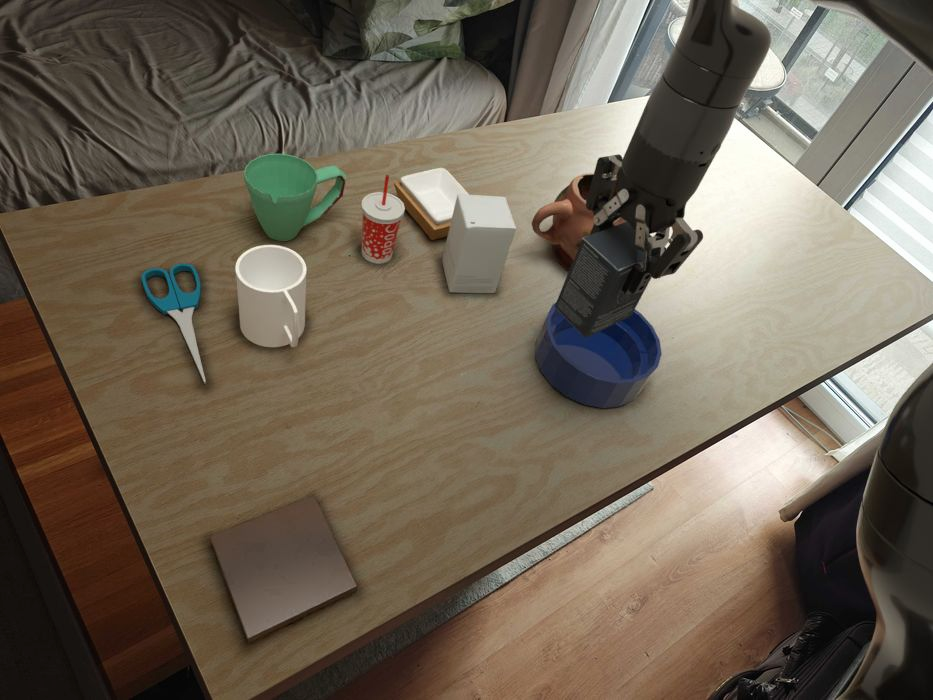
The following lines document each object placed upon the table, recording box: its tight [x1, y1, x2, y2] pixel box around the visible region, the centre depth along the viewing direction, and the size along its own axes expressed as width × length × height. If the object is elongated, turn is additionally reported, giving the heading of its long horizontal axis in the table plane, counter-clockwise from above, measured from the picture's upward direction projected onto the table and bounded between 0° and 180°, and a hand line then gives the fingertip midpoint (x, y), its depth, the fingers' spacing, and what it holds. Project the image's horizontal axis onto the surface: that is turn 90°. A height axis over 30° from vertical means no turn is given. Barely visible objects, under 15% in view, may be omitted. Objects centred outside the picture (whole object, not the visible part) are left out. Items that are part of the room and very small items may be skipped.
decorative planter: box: [531, 172, 627, 270], centre depth 103 cm, size 20×12×14 cm, turn 116°
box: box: [555, 222, 667, 338], centre depth 73 cm, size 8×6×11 cm
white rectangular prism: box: [441, 194, 517, 294], centre depth 96 cm, size 7×7×13 cm
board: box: [210, 494, 358, 644], centre depth 66 cm, size 11×11×2 cm
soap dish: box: [393, 167, 470, 241], centre depth 106 cm, size 12×10×5 cm
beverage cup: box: [360, 174, 406, 265], centre depth 94 cm, size 6×6×14 cm
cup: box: [234, 244, 307, 348], centre depth 82 cm, size 8×12×10 cm
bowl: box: [534, 302, 662, 409], centre depth 92 cm, size 16×16×6 cm
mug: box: [243, 153, 347, 242], centre depth 96 cm, size 15×10×10 cm
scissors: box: [141, 263, 207, 385], centre depth 83 cm, size 7×1×20 cm
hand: (612, 270), depth 72 cm, fingers closed on box, 6 cm apart
